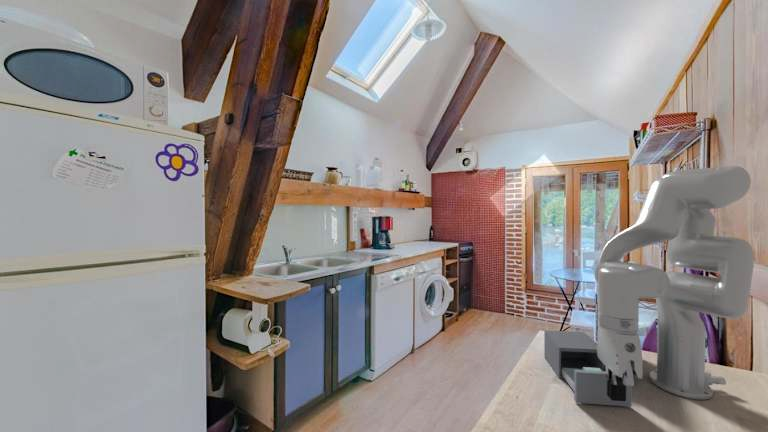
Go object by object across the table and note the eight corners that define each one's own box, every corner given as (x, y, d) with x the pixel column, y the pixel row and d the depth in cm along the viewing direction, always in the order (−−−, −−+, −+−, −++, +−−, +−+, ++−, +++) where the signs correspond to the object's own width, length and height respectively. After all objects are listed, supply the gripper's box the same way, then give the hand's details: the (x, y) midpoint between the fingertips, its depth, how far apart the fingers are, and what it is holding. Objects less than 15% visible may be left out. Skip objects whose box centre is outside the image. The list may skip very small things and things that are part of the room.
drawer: (631, 406, 77) (631, 375, 76) (576, 402, 79) (576, 372, 78) (603, 377, 89) (603, 350, 89) (556, 374, 91) (556, 348, 91)
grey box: (603, 381, 88) (604, 349, 88) (558, 378, 90) (558, 347, 90) (583, 359, 100) (584, 332, 100) (544, 357, 102) (544, 330, 102)
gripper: (658, 336, 63) (657, 423, 64) (616, 310, 78) (615, 381, 79) (618, 334, 64) (617, 419, 65) (584, 309, 79) (583, 379, 80)
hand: (616, 398), depth 72 cm, fingers closed
